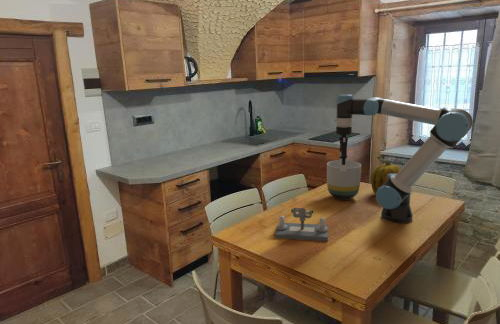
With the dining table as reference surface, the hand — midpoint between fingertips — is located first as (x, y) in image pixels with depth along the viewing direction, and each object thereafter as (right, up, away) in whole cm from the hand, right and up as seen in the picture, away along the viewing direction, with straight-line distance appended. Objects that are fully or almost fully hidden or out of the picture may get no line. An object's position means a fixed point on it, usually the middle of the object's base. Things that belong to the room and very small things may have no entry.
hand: (342, 167), depth 194 cm
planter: (+8, -19, +34) cm, 40 cm away
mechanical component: (-22, -29, -13) cm, 39 cm away
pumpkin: (+35, -18, +35) cm, 53 cm away
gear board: (-23, -31, -13) cm, 41 cm away
